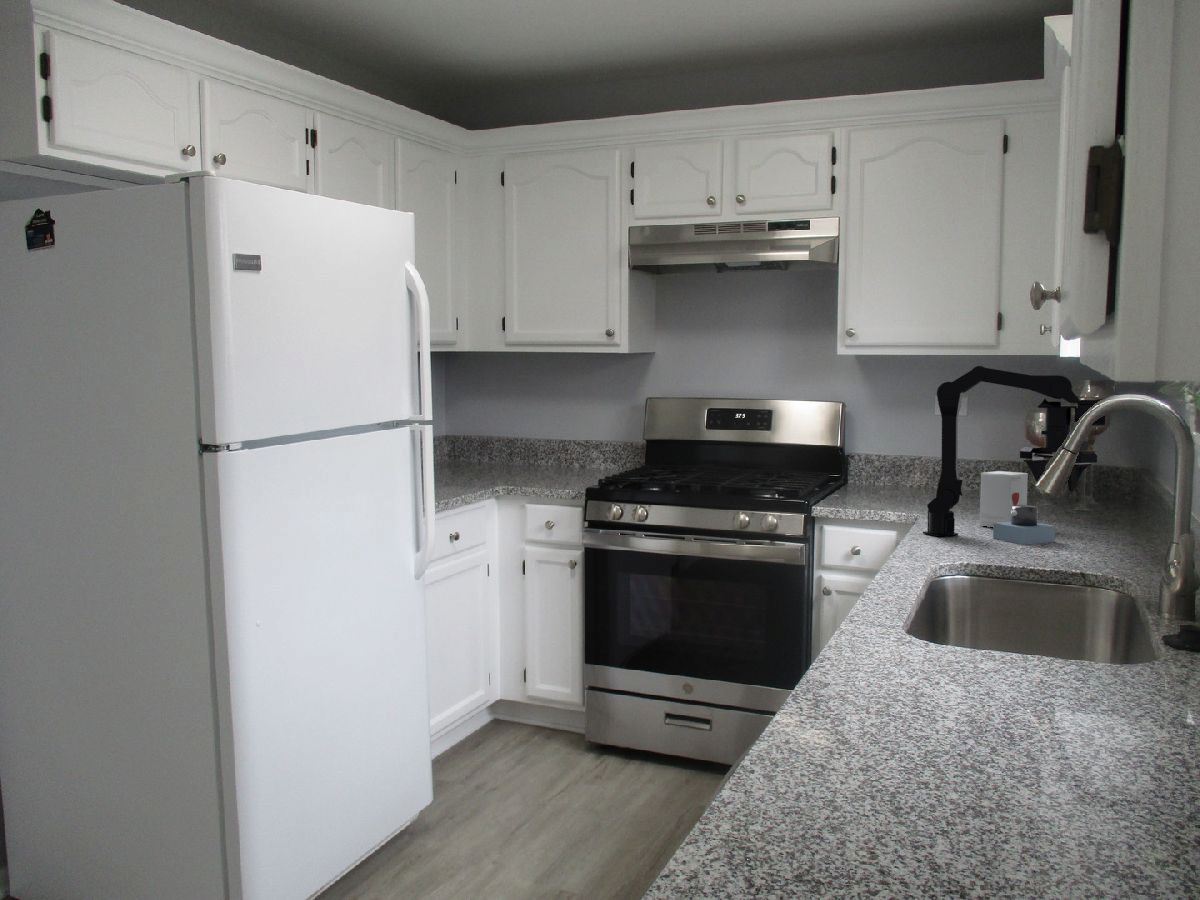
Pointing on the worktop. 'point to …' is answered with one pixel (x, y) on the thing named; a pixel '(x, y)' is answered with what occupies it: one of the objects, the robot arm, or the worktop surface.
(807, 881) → the worktop surface
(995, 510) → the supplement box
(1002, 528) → the block
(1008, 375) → the robot arm
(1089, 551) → the worktop surface
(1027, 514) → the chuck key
